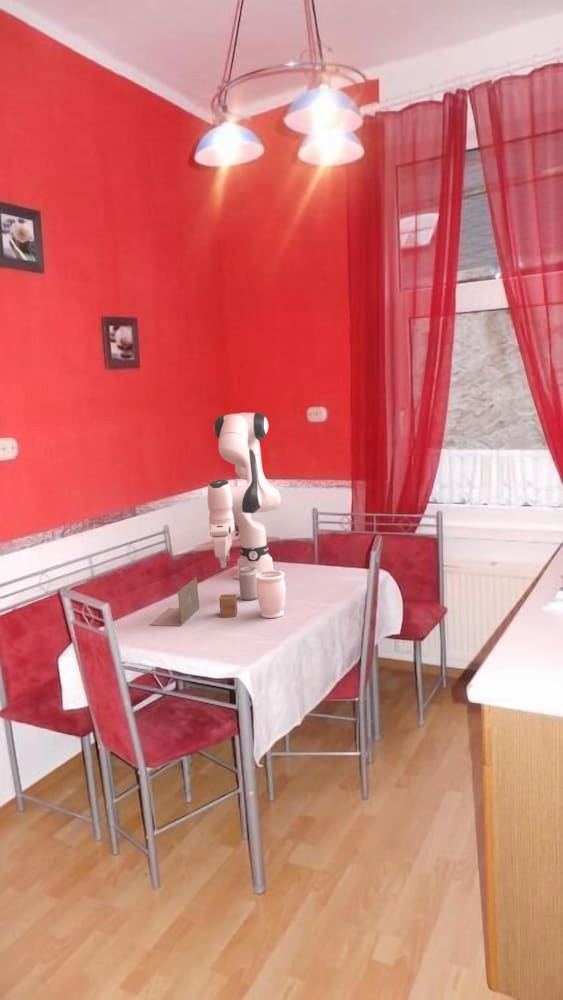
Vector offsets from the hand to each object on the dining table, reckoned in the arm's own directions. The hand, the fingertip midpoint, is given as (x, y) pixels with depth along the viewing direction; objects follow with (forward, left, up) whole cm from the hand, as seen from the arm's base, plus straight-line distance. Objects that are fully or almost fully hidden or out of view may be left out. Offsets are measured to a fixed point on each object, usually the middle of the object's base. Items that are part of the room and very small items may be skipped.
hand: (225, 564), depth 256 cm
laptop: (0, -20, -20) cm, 28 cm away
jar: (+2, +16, -19) cm, 25 cm away
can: (-19, +6, -19) cm, 28 cm away
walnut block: (0, 0, -19) cm, 19 cm away
